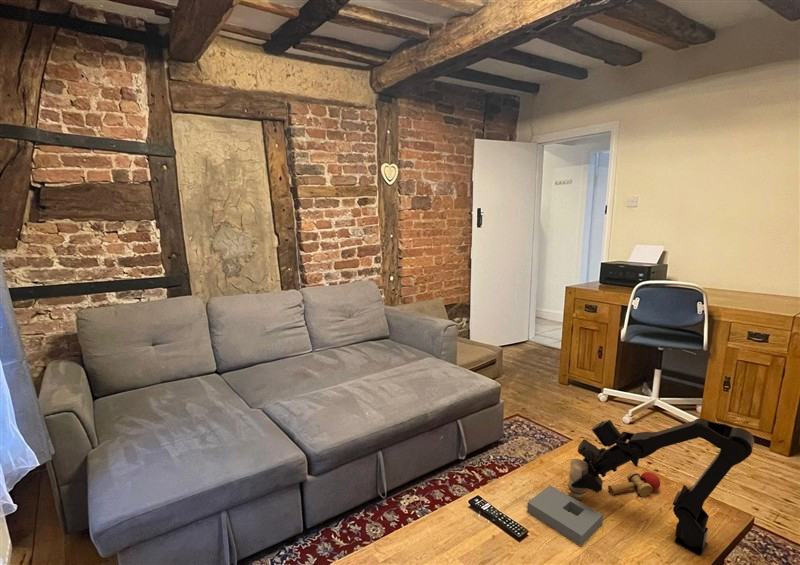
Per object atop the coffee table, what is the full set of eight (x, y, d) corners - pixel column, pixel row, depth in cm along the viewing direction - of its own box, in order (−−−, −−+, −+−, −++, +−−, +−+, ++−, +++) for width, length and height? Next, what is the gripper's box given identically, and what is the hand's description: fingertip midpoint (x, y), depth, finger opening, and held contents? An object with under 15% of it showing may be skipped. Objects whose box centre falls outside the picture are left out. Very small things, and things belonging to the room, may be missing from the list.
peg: (588, 497, 141) (591, 464, 138) (580, 505, 137) (583, 471, 135) (572, 489, 145) (575, 456, 143) (564, 496, 141) (567, 463, 139)
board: (601, 524, 129) (602, 514, 128) (581, 546, 121) (582, 535, 120) (549, 494, 143) (549, 485, 142) (527, 511, 134) (527, 502, 134)
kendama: (620, 506, 138) (668, 493, 141) (616, 488, 138) (665, 475, 141) (605, 494, 146) (651, 482, 149) (602, 477, 146) (648, 465, 148)
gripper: (596, 423, 143) (560, 444, 150) (593, 451, 127) (552, 473, 134) (620, 450, 141) (582, 470, 148) (619, 482, 125) (577, 503, 132)
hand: (573, 478), depth 140 cm, fingers open, 9 cm apart
